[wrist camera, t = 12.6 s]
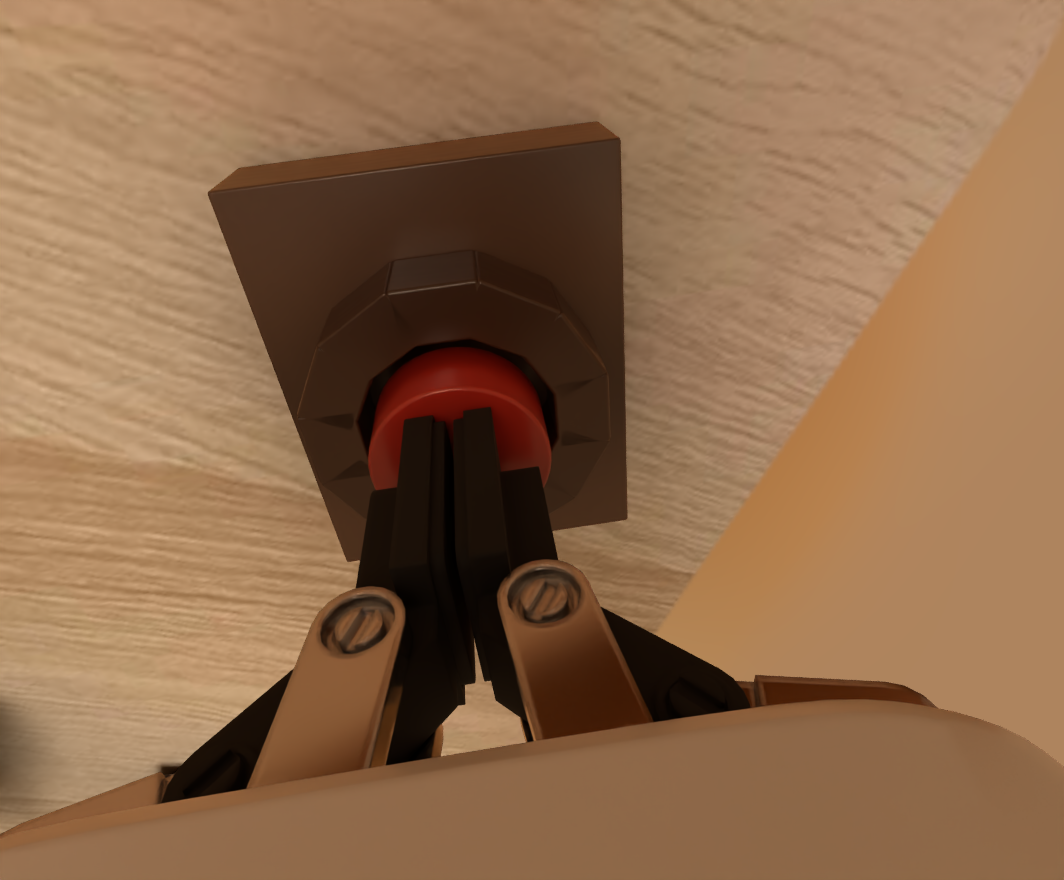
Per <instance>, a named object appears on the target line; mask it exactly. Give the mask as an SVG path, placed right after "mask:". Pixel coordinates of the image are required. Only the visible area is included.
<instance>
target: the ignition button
mask: <svg viewBox="0 0 1064 880" xmlns="http://www.w3.org/2000/svg"><path fill="white" fill-rule="evenodd" d="M485 407H491V411H492V417H493V423H494V430H495V436H496V442H497V448H498V454H499V460H500V467H501V472H502V471H509V470H516V469H522V468H529V467H536V466H539V469H540V474H541V478H542V483H543V488H544V486H545V484H546V482H547V480H548V477H549V473H550V470H551V462H552V453H551V446H550V441H549V437H548V433H547V428H546V424H545V420H544V416H543V412H542V407H541V403H540V400H539V397H538V394H537V391H536V390H535V388H534V386H533V384H532V383H531V381H530V380H529V379H528V377H527V376H526V375H525V374H524V373H523V372H522V371H521V370H520V369H519V368H518V367H517V366H515V365H514V364H513V363H511V362H510V361H508V360H506V359H505V358H503V357H501V356H499V355H496V354H494V353H492V352H489V351H485V350H482V349H477V348H471V347H448V348H442V349H437V350H433V351H430V352H427V353H424V354H422V355H420V356H418V357H415V358H413V359H412V360H410V361H409V362H407V363H406V364H404V365H403V366H402V367H400V368H399V369H398V370H397V371H396V372H395V373H394V374H393V375H392V376H391V377H390V379H389V380H388V381H387V383H386V384H385V386H384V387H383V389H382V392H381V394H380V396H379V399H378V403H377V406H376V412H375V418H374V424H373V429H372V435H371V441H370V446H369V454H368V468H369V473H370V477H371V480H372V483H373V485H374V487H375V489H376V490H381V489H388V488H395V487H397V483H398V473H399V463H400V454H401V444H402V435H403V425H404V420H405V419H410V418H417V417H423V416H430V415H433V416H434V419H435V422H440V421H445V423H446V426H447V431H448V435H449V440H450V445H451V449H452V454H453V459H454V445H453V420H454V419H461V418H463V411H465V410H472V409H479V408H485Z"/></svg>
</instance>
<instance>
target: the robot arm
mask: <svg viewBox="0 0 1064 880" xmlns="http://www.w3.org/2000/svg"><path fill="white" fill-rule="evenodd" d="M453 445H454V459H453V454H452V449H451V445H450V440H449V435H448V431H447V426H446V423H445V421H440V422H435V419H434V416H433V415H430V416H423V417H417V418H410V419H405V420H404V425H403V435H402V444H401V454H400V463H399V473H398V483H397V487H395V488H388V489H381V490H374V491H373V492H372V493H371V496H370V501H369V508H368V514H367V521H366V527H365V533H364V540H363V546H362V552H361V559H360V565H359V571H358V578H357V584H356V588H355V589H353V590H350V591H348V592H345V593H342V594H341V595H339V596H337V597H336V598H334V599H333V600H331V601H330V602H328V603H327V604H326V605H325V606H324V607H323V608H322V609H321V610H320V611H319V613H318V614H317V616H316V618H315V619H314V621H313V623H312V625H311V627H310V630H309V632H308V635H307V637H306V640H305V642H304V645H303V647H302V650H301V652H300V655H299V657H298V660H297V662H296V665H295V667H294V669H293V670H291V671H290V672H289V673H288V674H287V675H286V676H284V677H283V678H282V679H281V680H280V681H278V682H277V683H276V684H275V685H274V686H272V687H271V688H270V689H269V690H268V691H267V692H265V693H264V694H263V695H262V696H261V697H259V698H258V699H257V700H256V701H255V702H254V703H252V704H251V705H250V706H249V707H248V708H246V709H245V710H244V711H243V712H242V713H240V714H239V715H238V716H237V717H236V718H235V719H233V720H232V721H231V722H230V723H229V724H227V725H226V726H225V727H224V728H223V729H222V730H220V731H219V732H218V733H217V734H216V735H214V736H213V737H212V738H211V739H210V740H208V741H207V742H206V743H205V744H204V745H203V746H201V747H200V748H199V749H198V750H197V751H195V752H194V753H193V754H192V755H191V756H190V757H189V758H188V759H187V760H186V761H185V762H184V763H183V764H182V765H181V766H180V767H179V768H178V770H177V771H176V773H175V774H174V775H172V776H169V777H167V778H166V777H165V776H164V775H163V774H162V773H161V772H158V773H156V774H153V775H150V776H147V777H145V778H142V779H139V780H137V781H134V782H131V783H129V784H126V785H123V786H121V787H118V788H115V789H113V790H110V791H107V792H104V793H102V794H99V795H96V796H94V797H91V798H88V799H86V800H83V801H80V802H78V803H75V804H72V805H69V806H67V807H64V808H61V809H59V810H56V811H53V812H51V813H48V814H45V815H43V816H40V817H37V818H35V819H32V820H29V821H26V822H24V823H21V824H19V825H17V826H15V827H13V828H11V829H10V830H8V831H6V832H4V833H2V834H0V880H1064V767H1063V766H1062V765H1061V764H1060V763H1058V762H1057V761H1056V760H1055V759H1054V758H1052V757H1051V756H1050V755H1049V754H1047V753H1046V752H1045V751H1043V750H1042V749H1040V748H1038V747H1037V746H1036V745H1034V744H1033V743H1031V742H1030V741H1028V740H1026V739H1025V738H1023V737H1021V736H1019V735H1017V734H1015V733H1013V732H1011V731H1009V730H1007V729H1005V728H1003V727H1000V726H998V725H995V724H992V723H989V722H986V721H984V720H981V719H978V718H974V717H971V716H968V715H964V714H961V713H957V712H952V711H948V710H944V709H939V708H937V707H936V706H935V705H934V704H933V703H932V702H930V701H929V700H928V699H927V698H926V697H925V696H923V695H922V694H920V693H918V692H916V691H914V690H912V689H910V688H908V687H906V686H903V685H899V684H893V683H889V682H880V681H860V680H841V679H822V678H803V677H784V676H764V675H755V679H754V682H744V681H735V680H734V679H733V678H732V677H731V676H729V675H728V674H726V673H725V672H723V671H722V670H720V669H719V668H717V667H715V666H713V665H711V664H709V663H708V662H705V661H703V660H702V659H700V658H698V657H696V656H694V655H692V654H690V653H688V652H687V651H685V650H683V649H681V648H679V647H677V646H675V645H673V644H671V643H669V642H667V641H665V640H663V639H661V638H660V637H658V636H656V635H654V634H652V633H650V632H648V631H646V630H644V629H643V628H641V627H639V626H637V625H635V624H633V623H631V622H629V621H627V620H625V619H623V618H621V617H620V616H618V615H616V614H614V613H612V612H610V611H608V610H606V609H604V608H602V607H600V605H599V603H598V601H597V598H596V596H595V594H594V592H593V590H592V588H591V585H590V583H589V581H588V580H587V578H586V577H585V576H584V574H583V573H582V572H581V571H580V570H579V569H577V568H576V567H574V566H573V565H571V564H568V563H566V562H563V561H560V560H558V557H557V552H556V547H555V542H554V538H553V533H552V528H551V523H550V518H549V513H548V508H547V503H546V498H545V493H544V488H543V483H542V478H541V474H540V469H539V466H536V467H529V468H522V469H516V470H509V471H502V472H501V467H500V460H499V454H498V448H497V442H496V436H495V430H494V423H493V417H492V411H491V407H485V408H479V409H472V410H465V411H463V418H461V419H454V420H453ZM474 640H475V644H476V648H477V652H478V656H479V661H480V665H481V669H482V673H483V677H484V681H491V682H492V686H493V691H494V695H495V699H496V701H497V702H499V703H500V704H502V705H503V706H505V707H506V708H508V709H509V710H510V711H512V712H513V713H515V714H516V715H518V716H519V717H520V722H521V727H522V730H523V734H524V738H525V741H526V743H521V744H514V745H508V746H502V747H496V748H490V749H484V750H478V751H472V752H465V753H459V754H453V755H447V756H441V751H442V745H443V726H442V723H443V722H444V721H445V719H446V718H447V717H448V716H449V715H450V714H451V713H452V712H453V711H454V710H455V709H456V707H457V706H458V705H465V685H467V684H473V683H475V680H476V674H475V651H474Z"/></svg>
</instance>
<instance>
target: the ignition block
mask: <svg viewBox="0 0 1064 880" xmlns="http://www.w3.org/2000/svg"><path fill="white" fill-rule="evenodd" d="M208 196H209V199H210V201H211V204H212V207H213V209H214V212H215V215H216V217H217V220H218V223H219V225H220V228H221V230H222V233H223V236H224V238H225V241H226V244H227V246H228V249H229V251H230V254H231V257H232V259H233V262H234V265H235V267H236V270H237V273H238V275H239V278H240V280H241V283H242V286H243V288H244V291H245V294H246V296H247V299H248V302H249V304H250V307H251V309H252V312H253V315H254V317H255V320H256V323H257V325H258V328H259V331H260V333H261V336H262V338H263V341H264V344H265V346H266V349H267V352H268V354H269V357H270V360H271V362H272V365H273V367H274V370H275V373H276V375H277V378H278V381H279V383H280V386H281V389H282V391H283V394H284V396H285V399H286V402H287V404H288V407H289V410H290V412H291V415H292V418H293V420H294V423H295V425H296V428H297V431H298V433H299V436H300V439H301V441H302V444H303V447H304V449H305V452H306V454H307V457H308V460H309V462H310V465H311V468H312V470H313V473H314V476H315V478H316V481H317V483H318V486H319V489H320V491H321V494H322V497H323V499H324V502H325V505H326V507H327V510H328V512H329V515H330V518H331V520H332V523H333V526H334V528H335V531H336V533H337V536H338V539H339V541H340V544H341V547H342V549H343V552H344V555H345V557H346V560H347V561H348V562H351V561H357V560H360V559H361V552H362V546H363V540H364V533H365V527H366V521H367V514H368V508H369V501H370V496H371V493H372V492H373V491H374V490H376V489H375V487H374V485H373V483H372V480H371V477H370V473H369V468H368V454H369V446H370V441H371V435H372V429H373V424H374V418H375V412H376V406H377V403H378V399H379V396H380V394H381V392H382V389H383V387H384V386H385V384H386V383H387V381H388V380H389V379H390V377H391V376H392V375H393V374H394V373H395V372H396V371H397V370H398V369H399V368H400V367H402V366H403V365H404V364H406V363H407V362H409V361H410V360H412V359H413V358H415V357H418V356H420V355H422V354H424V353H427V352H430V351H433V350H437V349H442V348H448V347H471V348H477V349H482V350H485V351H489V352H492V353H494V354H496V355H499V356H501V357H503V358H505V359H506V360H508V361H510V362H511V363H513V364H514V365H515V366H517V367H518V368H519V369H520V370H521V371H522V372H523V373H524V374H525V375H526V376H527V377H528V379H529V380H530V381H531V383H532V384H533V386H534V388H535V390H536V391H537V394H538V397H539V400H540V403H541V407H542V412H543V416H544V420H545V424H546V428H547V433H548V437H549V441H550V446H551V453H552V462H551V470H550V473H549V477H548V480H547V482H546V484H545V486H544V493H545V498H546V503H547V508H548V513H549V518H550V523H551V528H552V531H555V530H561V529H568V528H575V527H581V526H588V525H594V524H601V523H608V522H614V521H621V520H626V519H627V465H626V410H625V355H624V299H623V244H622V189H621V140H620V138H619V137H617V136H616V135H615V134H614V133H612V132H611V131H610V130H608V129H607V128H606V127H604V126H603V125H602V124H600V123H599V122H589V123H581V124H574V125H566V126H558V127H550V128H543V129H535V130H527V131H520V132H512V133H504V134H497V135H489V136H481V137H473V138H466V139H458V140H450V141H443V142H435V143H427V144H420V145H412V146H404V147H397V148H389V149H381V150H373V151H366V152H358V153H350V154H343V155H335V156H327V157H320V158H312V159H304V160H296V161H289V162H281V163H273V164H266V165H258V166H250V167H243V168H238V169H237V170H236V171H234V172H233V173H232V174H231V175H229V176H228V177H227V178H225V179H224V180H223V181H222V182H220V183H219V184H218V185H216V186H215V187H214V188H213V189H211V190H210V191H209V192H208Z"/></svg>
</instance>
